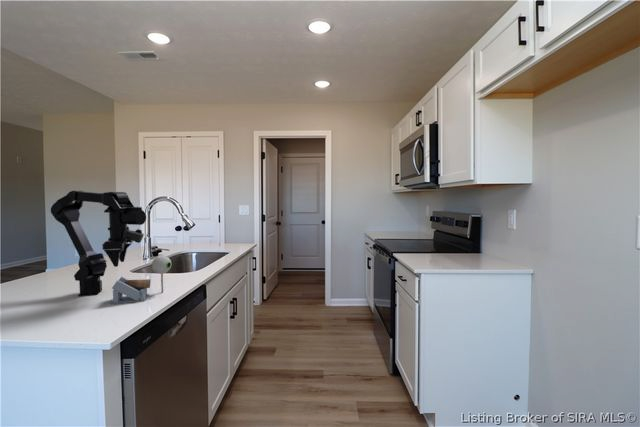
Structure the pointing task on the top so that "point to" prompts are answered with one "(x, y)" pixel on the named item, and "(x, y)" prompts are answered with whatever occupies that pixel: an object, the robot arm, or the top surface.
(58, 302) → the top surface
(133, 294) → the cradle
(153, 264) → the lollipop
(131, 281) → the peg
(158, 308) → the top surface
